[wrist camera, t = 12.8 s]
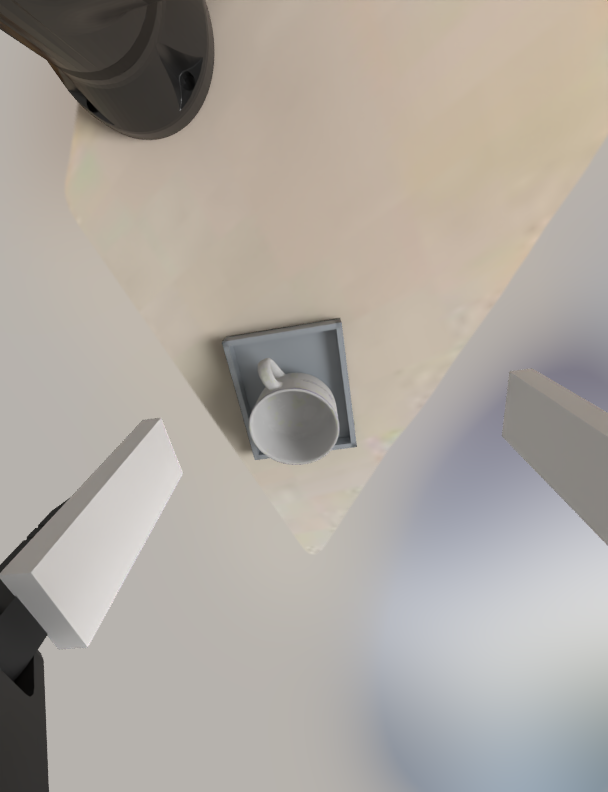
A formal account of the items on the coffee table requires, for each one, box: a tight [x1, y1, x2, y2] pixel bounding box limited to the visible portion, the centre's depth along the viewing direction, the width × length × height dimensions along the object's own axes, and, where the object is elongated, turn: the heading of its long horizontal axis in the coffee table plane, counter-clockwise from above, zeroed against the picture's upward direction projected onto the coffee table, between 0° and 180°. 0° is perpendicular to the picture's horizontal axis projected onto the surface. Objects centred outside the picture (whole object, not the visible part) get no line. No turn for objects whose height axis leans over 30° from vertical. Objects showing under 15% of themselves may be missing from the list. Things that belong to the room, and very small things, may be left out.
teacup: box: [249, 358, 340, 465], centre depth 42 cm, size 14×11×8 cm
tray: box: [222, 318, 357, 460], centre depth 45 cm, size 18×15×2 cm
